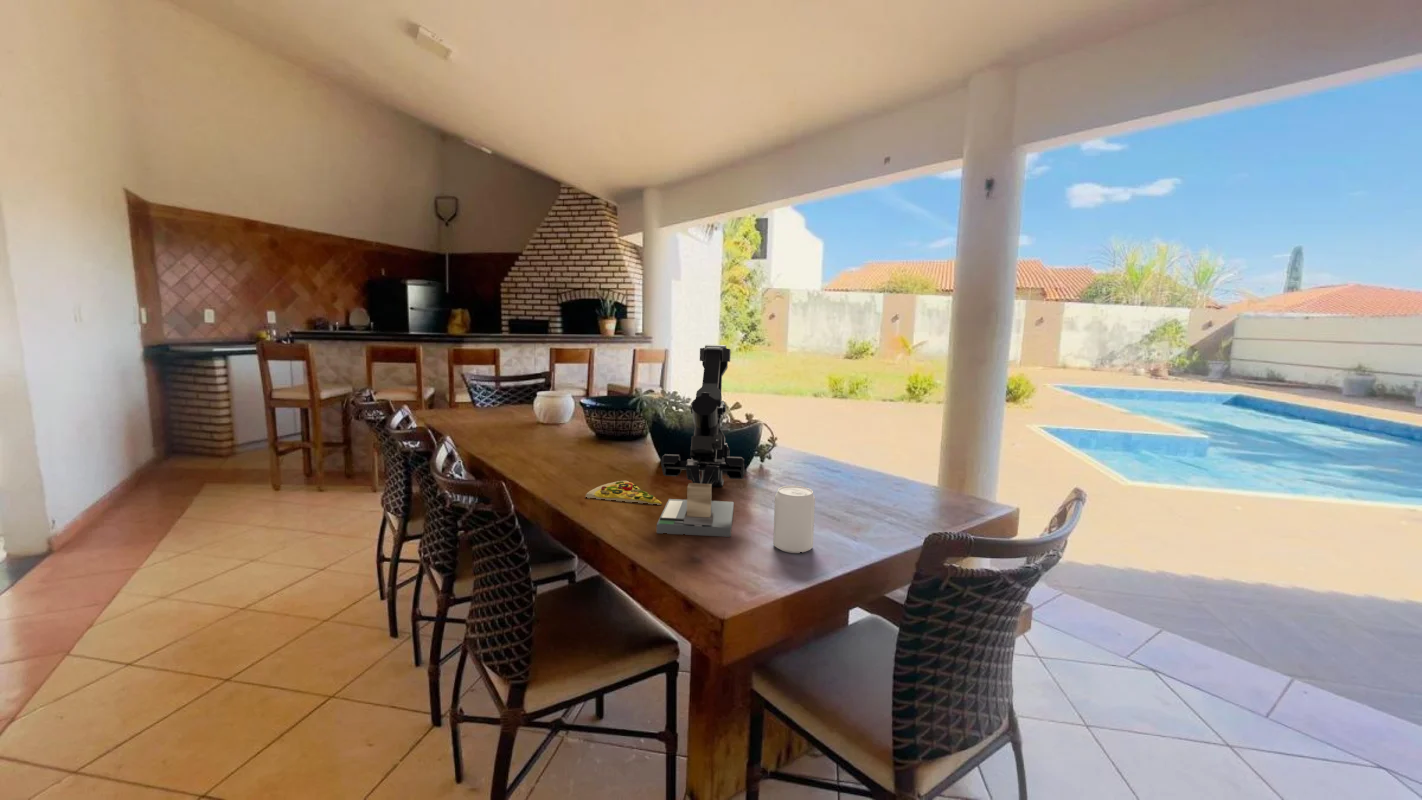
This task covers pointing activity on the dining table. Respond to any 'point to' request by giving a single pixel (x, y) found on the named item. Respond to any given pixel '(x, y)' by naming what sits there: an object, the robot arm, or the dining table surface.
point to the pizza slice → (622, 493)
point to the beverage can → (794, 519)
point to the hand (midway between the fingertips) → (700, 499)
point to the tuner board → (718, 527)
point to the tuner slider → (697, 505)
